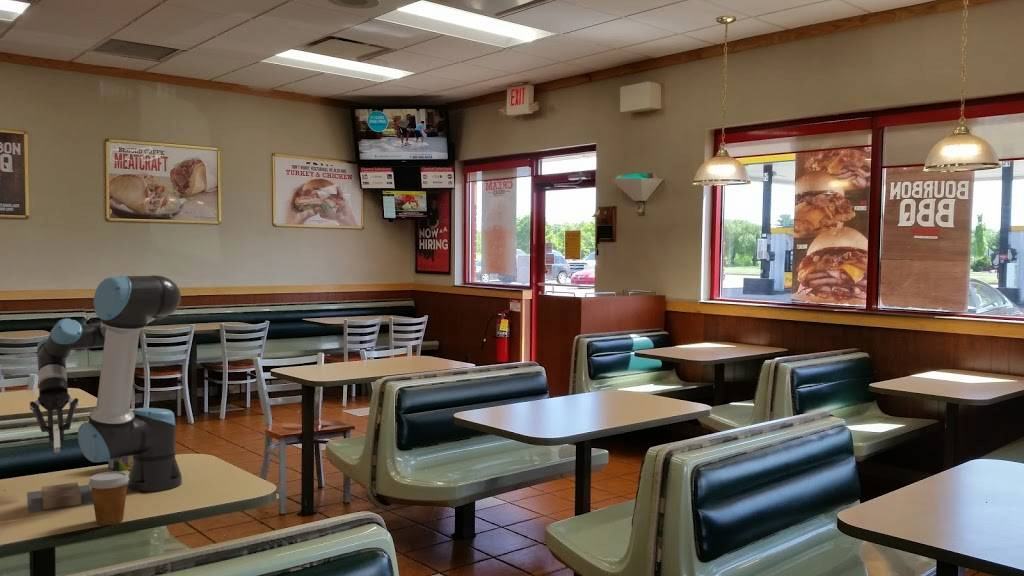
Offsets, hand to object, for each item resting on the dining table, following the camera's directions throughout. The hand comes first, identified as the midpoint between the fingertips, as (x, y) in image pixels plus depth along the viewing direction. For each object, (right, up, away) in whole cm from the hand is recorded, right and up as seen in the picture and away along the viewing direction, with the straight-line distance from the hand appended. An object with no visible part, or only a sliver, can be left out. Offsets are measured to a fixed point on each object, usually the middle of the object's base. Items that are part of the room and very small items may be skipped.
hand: (57, 449), depth 239 cm
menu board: (+1, -11, 0) cm, 11 cm away
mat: (+3, -13, -3) cm, 14 cm away
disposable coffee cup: (+26, -15, -22) cm, 37 cm away
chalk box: (+5, -12, +32) cm, 34 cm away
